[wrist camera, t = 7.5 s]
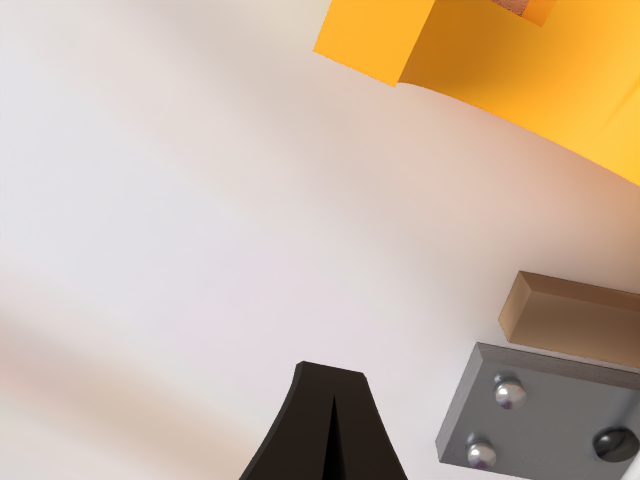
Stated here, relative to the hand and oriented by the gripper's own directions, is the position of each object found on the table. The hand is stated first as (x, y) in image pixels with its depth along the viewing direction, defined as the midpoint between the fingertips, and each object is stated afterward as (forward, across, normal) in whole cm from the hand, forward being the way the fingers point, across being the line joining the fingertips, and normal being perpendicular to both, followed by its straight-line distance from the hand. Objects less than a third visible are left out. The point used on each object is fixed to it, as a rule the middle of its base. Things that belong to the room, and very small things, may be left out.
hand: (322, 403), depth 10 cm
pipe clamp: (+10, -5, -7) cm, 13 cm away
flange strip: (+10, -15, +7) cm, 20 cm away
